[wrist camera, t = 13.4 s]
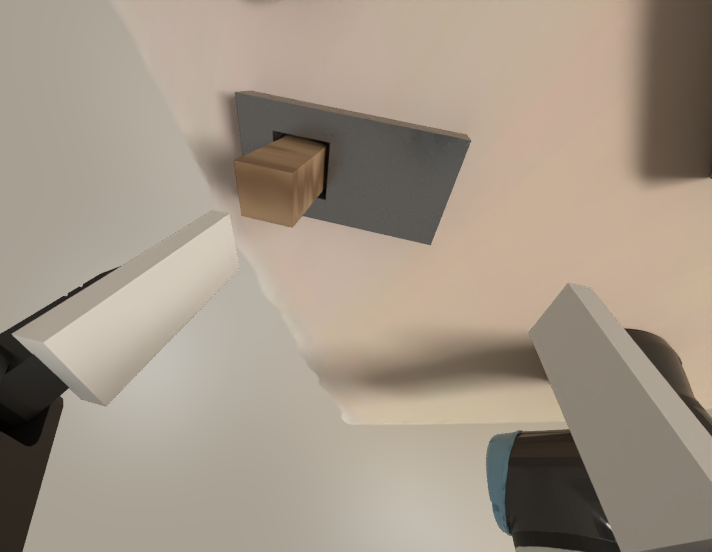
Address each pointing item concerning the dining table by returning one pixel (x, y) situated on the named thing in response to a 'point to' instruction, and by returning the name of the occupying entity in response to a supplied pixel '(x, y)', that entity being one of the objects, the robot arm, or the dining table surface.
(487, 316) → the dining table surface
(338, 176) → the steel rail
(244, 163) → the walnut block
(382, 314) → the dining table surface
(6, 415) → the robot arm
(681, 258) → the dining table surface
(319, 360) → the dining table surface
